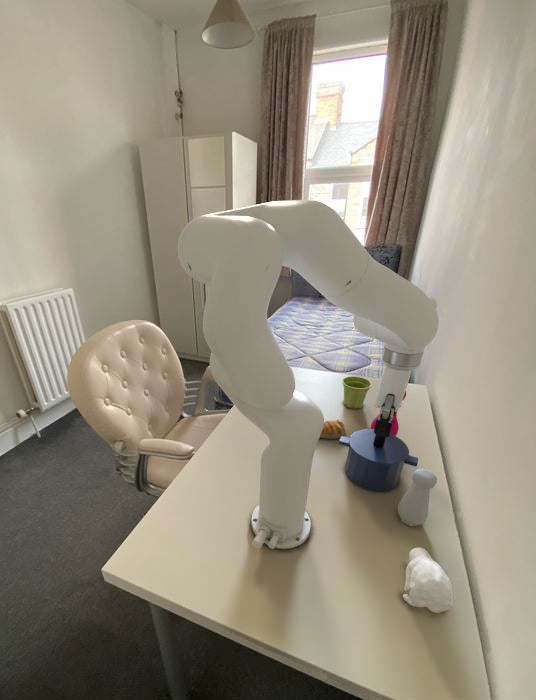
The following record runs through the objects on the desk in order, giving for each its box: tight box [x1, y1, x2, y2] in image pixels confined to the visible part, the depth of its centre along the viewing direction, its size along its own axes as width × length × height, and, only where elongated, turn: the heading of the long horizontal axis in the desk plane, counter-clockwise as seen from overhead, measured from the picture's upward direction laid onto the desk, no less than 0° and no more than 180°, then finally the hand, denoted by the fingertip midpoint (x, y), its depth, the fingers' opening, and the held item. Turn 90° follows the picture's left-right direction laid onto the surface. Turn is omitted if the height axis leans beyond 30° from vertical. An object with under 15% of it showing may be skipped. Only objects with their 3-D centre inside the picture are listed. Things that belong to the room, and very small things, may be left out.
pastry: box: [319, 419, 347, 440], centre depth 99 cm, size 9×7×4 cm
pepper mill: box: [370, 390, 407, 437], centre depth 92 cm, size 7×7×20 cm
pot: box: [338, 436, 419, 492], centre depth 83 cm, size 13×18×8 cm
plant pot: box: [341, 375, 373, 409], centre depth 113 cm, size 9×9×9 cm
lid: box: [348, 428, 410, 465], centre depth 80 cm, size 14×14×6 cm
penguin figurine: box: [402, 546, 455, 614], centre depth 57 cm, size 6×8×12 cm
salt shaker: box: [397, 468, 438, 527], centre depth 69 cm, size 6×6×13 cm
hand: (384, 423), depth 78 cm, fingers open, 9 cm apart
